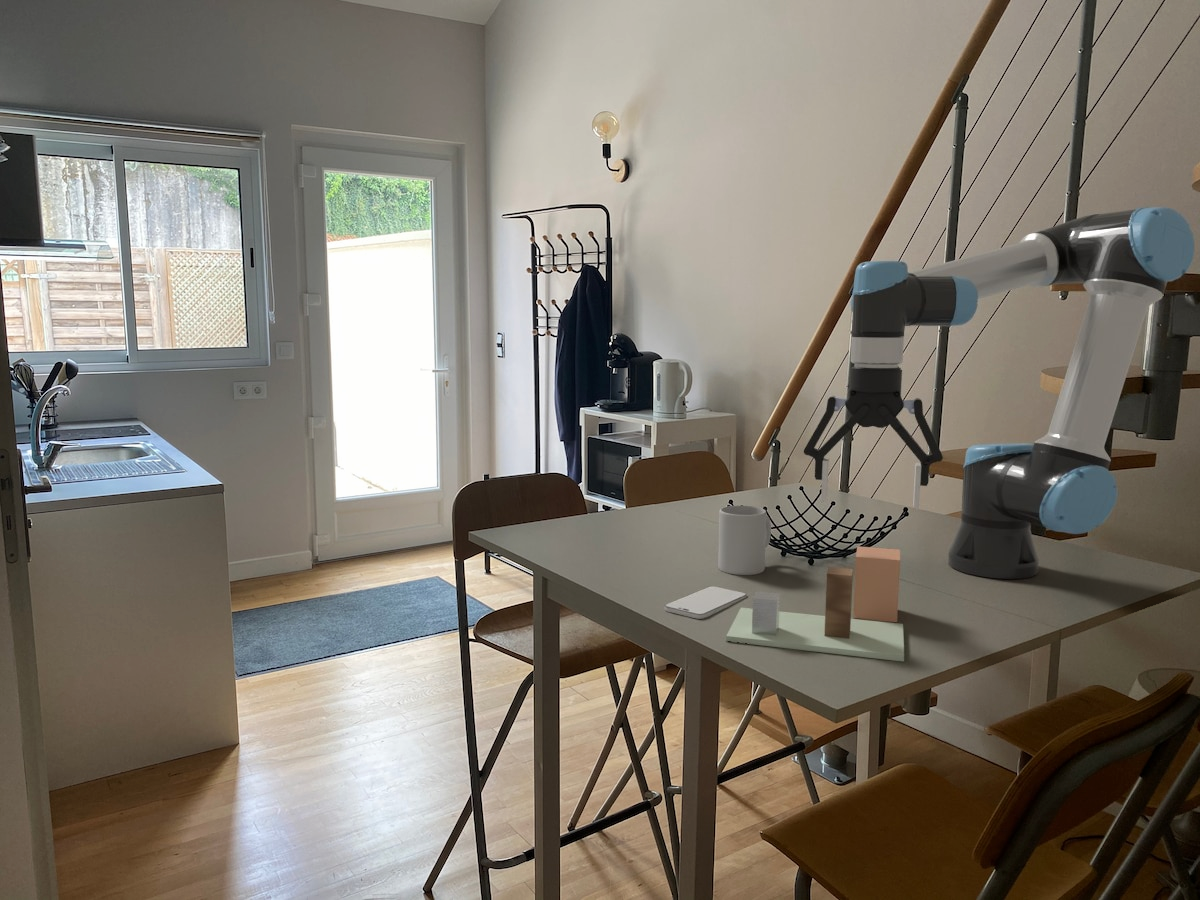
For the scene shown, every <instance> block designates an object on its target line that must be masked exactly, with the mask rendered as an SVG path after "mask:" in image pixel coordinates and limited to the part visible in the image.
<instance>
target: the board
mask: <svg viewBox="0 0 1200 900" xmlns="http://www.w3.org/2000/svg"><path fill="white" fill-rule="evenodd" d="M752 612H753V608H752V607H751V608H750V607H749V608H748V607H740V608H739V610H738V612H737V614H736V616H735V618H734V620H733V622H732V623H731V626H730V627H729V629H728V632H727V634H726V637H725V642H728V641H731V642H730V643H737V642H739V643H738V644H745V643H747V644H748V645H756V646H765V647H773V648H781V649H782V648H783V649H789V650H800V651H808V652H819V653H826V654H835V655H843V656H851V657H852V656H853V657H859V658H870V659H879V660H886V661H894V662H895V661H896V662H905V644H904V643H905V639H904V623H898V622H888V621H878V620H868V619H858V618H851V626H850V637H849V639H847V638H838V637H829V636H824V635H825V615H818V614H808V613H799V612H790V611H789V612H787V611H780V610H779V628H778V631H777V634H776V636H774V635H765V634H756V633H752ZM747 644H746V645H747Z"/></svg>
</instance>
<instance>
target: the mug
mask: <svg viewBox="0 0 1200 900" xmlns="http://www.w3.org/2000/svg"><path fill="white" fill-rule="evenodd" d="M718 513H719V516H718V517H719V518H718V519H719V520H718V555H717V556H718V557H717V561H718V562H717V567H718V569H719V570H720V571H721V572H722V573H725V574H730V575H735V576H736V575H737V576H753V575H754V576H755V575H758V574H762V573H764V571H765V570H766V548H768V546H769V545H770V541H771V534H772V524H771V519H770V517H769V516H768V515H767V511H766V509H764V508H762V507H757V506H753V505H728V506H723V507H721V508H720V509H719V512H718Z"/></svg>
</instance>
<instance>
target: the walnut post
mask: <svg viewBox="0 0 1200 900" xmlns="http://www.w3.org/2000/svg"><path fill="white" fill-rule="evenodd" d="M853 576H854V569H852V568H846V567H845V568H843V567H831V566H828V568H827V571H826V585H825V587H826V589H825V612H824V613H825V614H824V616H825V635H824V636H829V637H838V638H847V639H849V637H850V626H851V619H852V601H853V598H852V597H853V595H852V594H853V578H854V577H853Z"/></svg>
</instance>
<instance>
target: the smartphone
mask: <svg viewBox="0 0 1200 900" xmlns="http://www.w3.org/2000/svg"><path fill="white" fill-rule="evenodd" d="M746 598H747V593H745V592H742V591H736V590H733V589H728V588H723V587H720V586H719V587H718V586H708V587H705V588H702V589H700V590H697V591H695V592H692V593H690V594H688V595H685V596H682V597H680V598H678V599H676V600H672V601H670V602H668V603H666V604H664V611H665V612H668V613H672V614H677V615H680V616H684V617H688V618H693V619H699V620H701V619H706V618H708V617H710V616H712V615H714V614H716V613H718V612H720V611H723V610H724V609H726V608H728V607H730V606H733V605H734V604H736V603H737V602H740V601H741V600H743V599H746Z"/></svg>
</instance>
